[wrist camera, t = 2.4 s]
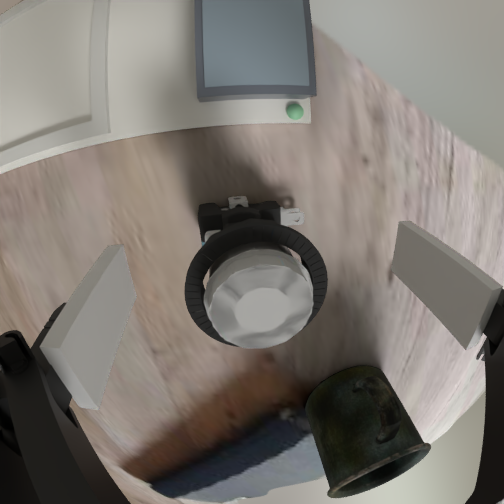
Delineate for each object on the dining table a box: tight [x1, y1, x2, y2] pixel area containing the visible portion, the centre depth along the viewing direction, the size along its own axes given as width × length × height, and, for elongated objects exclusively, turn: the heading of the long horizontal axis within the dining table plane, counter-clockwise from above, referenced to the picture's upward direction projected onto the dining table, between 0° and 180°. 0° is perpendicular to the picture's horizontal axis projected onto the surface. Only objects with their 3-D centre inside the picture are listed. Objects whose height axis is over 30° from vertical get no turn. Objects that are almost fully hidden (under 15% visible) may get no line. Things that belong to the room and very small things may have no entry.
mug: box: [305, 366, 431, 498], centre depth 23 cm, size 11×15×12 cm
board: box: [0, 0, 311, 174], centre depth 12 cm, size 24×14×1 cm, turn 93°
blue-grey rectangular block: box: [194, 0, 317, 102], centre depth 11 cm, size 6×11×3 cm, turn 3°
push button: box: [185, 196, 328, 348], centre depth 14 cm, size 7×5×10 cm
